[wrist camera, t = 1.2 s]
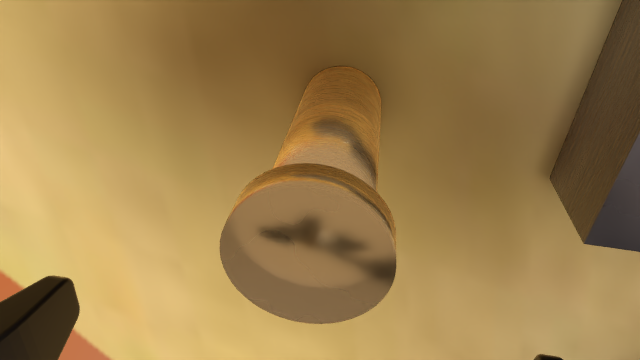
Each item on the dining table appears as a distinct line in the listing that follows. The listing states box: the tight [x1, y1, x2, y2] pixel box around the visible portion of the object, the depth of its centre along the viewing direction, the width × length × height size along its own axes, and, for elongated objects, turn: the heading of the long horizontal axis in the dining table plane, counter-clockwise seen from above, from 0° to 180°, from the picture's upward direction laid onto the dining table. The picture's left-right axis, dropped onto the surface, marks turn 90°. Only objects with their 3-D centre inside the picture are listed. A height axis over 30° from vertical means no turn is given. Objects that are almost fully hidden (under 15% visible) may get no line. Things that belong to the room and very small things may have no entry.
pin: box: [220, 66, 396, 324], centre depth 14 cm, size 4×4×9 cm
